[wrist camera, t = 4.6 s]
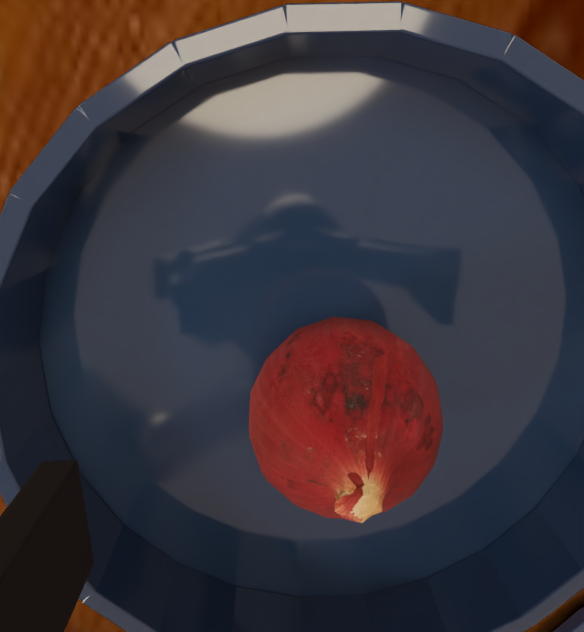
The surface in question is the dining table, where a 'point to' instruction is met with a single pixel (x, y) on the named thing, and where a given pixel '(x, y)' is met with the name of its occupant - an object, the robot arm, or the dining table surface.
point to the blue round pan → (307, 317)
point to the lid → (573, 623)
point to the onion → (345, 419)
